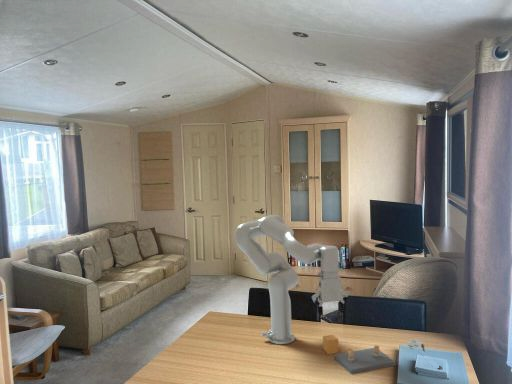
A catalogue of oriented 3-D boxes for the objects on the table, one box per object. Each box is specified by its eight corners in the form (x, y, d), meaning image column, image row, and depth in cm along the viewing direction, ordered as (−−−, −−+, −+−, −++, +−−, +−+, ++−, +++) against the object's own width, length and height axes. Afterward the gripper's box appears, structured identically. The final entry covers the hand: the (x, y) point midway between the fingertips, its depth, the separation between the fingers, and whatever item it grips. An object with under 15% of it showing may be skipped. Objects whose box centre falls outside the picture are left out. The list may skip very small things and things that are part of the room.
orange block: (328, 353, 175) (327, 340, 175) (323, 349, 180) (322, 336, 180) (338, 352, 177) (338, 338, 176) (333, 347, 181) (333, 334, 181)
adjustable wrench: (441, 370, 159) (441, 365, 159) (424, 370, 160) (424, 366, 160) (419, 343, 184) (419, 339, 184) (404, 343, 185) (404, 339, 184)
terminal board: (351, 373, 158) (350, 359, 157) (334, 358, 171) (333, 345, 171) (395, 365, 163) (395, 351, 163) (375, 351, 177) (375, 338, 176)
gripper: (315, 278, 171) (316, 318, 171) (351, 274, 176) (352, 313, 176) (307, 274, 178) (308, 313, 179) (343, 270, 183) (344, 308, 184)
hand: (330, 313), depth 177 cm, fingers open, 9 cm apart
